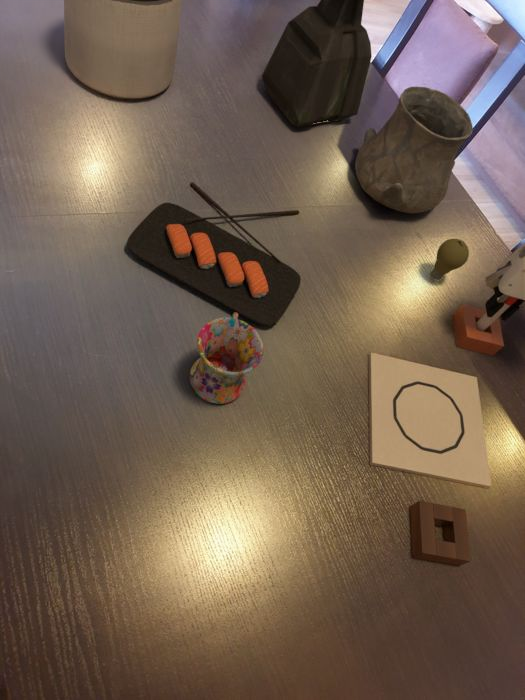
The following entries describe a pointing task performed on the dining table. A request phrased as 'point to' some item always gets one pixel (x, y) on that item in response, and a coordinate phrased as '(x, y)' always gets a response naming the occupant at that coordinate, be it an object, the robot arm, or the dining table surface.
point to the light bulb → (449, 257)
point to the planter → (122, 45)
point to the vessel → (413, 151)
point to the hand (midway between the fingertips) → (495, 312)
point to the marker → (487, 321)
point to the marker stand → (454, 532)
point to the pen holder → (476, 331)
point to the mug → (225, 359)
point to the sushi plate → (217, 260)
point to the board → (426, 421)
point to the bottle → (320, 63)
